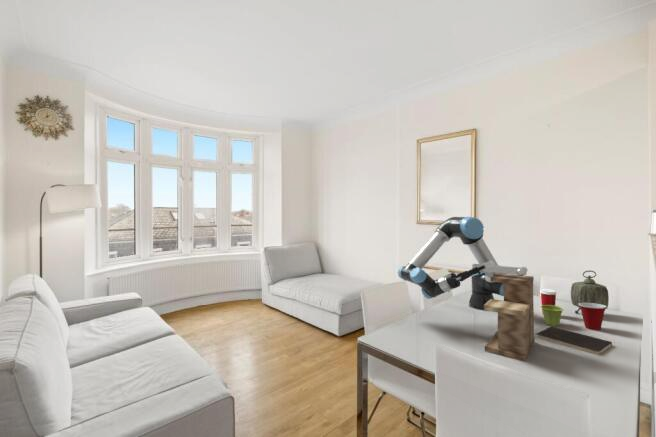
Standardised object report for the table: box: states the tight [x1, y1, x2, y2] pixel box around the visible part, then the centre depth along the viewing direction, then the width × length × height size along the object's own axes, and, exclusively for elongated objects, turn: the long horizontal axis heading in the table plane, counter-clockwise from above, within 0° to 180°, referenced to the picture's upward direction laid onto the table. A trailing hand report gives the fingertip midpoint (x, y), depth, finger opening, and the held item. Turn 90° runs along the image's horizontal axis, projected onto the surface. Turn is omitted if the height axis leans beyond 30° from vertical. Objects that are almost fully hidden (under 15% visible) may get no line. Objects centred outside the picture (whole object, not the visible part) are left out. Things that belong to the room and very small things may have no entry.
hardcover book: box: [535, 325, 613, 356], centre depth 140 cm, size 16×23×2 cm
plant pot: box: [540, 304, 564, 327], centre depth 161 cm, size 9×9×9 cm
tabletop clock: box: [570, 270, 610, 314], centre depth 172 cm, size 14×9×25 cm, turn 84°
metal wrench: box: [471, 263, 528, 276], centre depth 144 cm, size 22×8×3 cm, turn 49°
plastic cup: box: [578, 303, 607, 331], centre depth 154 cm, size 11×11×12 cm
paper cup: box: [539, 288, 557, 316], centre depth 174 cm, size 8×8×14 cm
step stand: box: [483, 273, 535, 362], centre depth 136 cm, size 15×23×30 cm, turn 139°
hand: (492, 262), depth 145 cm, fingers closed on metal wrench, 3 cm apart
